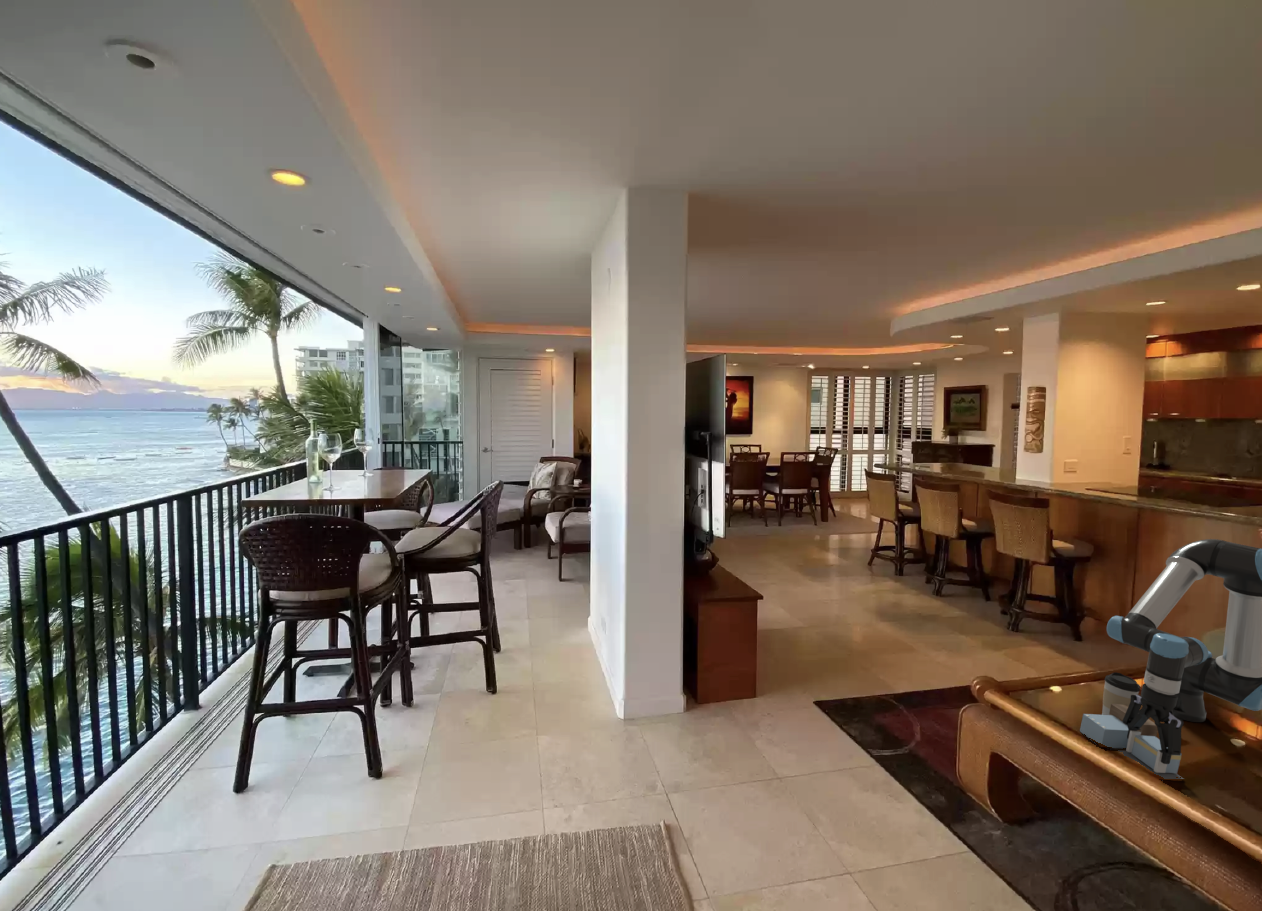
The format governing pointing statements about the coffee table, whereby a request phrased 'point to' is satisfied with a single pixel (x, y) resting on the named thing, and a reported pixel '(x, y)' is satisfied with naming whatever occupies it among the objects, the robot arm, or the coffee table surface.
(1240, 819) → the coffee table surface
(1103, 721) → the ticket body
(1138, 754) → the light blue block
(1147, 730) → the brown block with knob
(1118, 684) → the coffee cup
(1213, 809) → the coffee table surface
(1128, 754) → the coaster
